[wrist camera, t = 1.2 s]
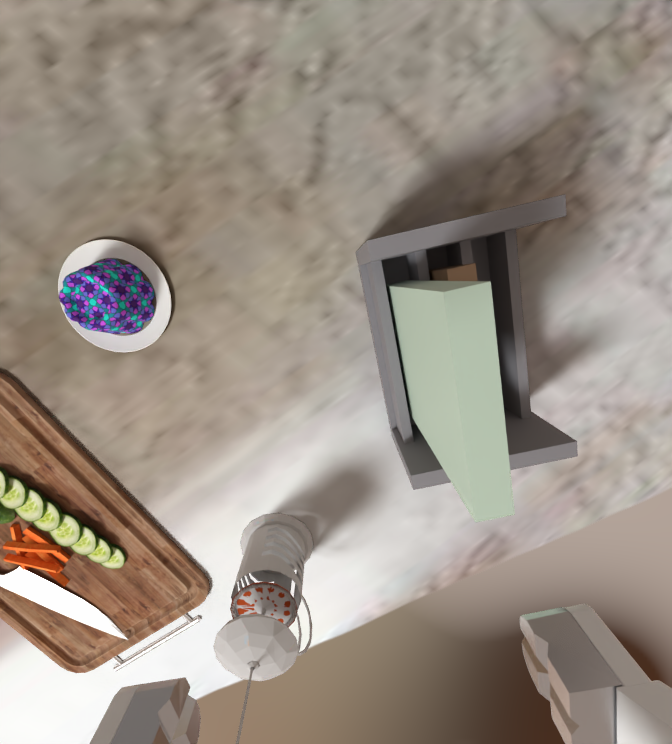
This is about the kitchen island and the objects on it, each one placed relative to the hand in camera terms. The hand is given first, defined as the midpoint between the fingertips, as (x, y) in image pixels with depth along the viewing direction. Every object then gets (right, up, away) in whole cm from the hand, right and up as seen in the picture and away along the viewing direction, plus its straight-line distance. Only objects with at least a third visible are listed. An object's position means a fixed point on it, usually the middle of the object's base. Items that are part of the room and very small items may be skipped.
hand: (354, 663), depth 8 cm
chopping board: (-39, -15, +38) cm, 57 cm away
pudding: (-24, +15, +30) cm, 42 cm away
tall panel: (+7, +10, +30) cm, 33 cm away
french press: (-8, -17, +39) cm, 43 cm away
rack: (+11, +11, +32) cm, 35 cm away
